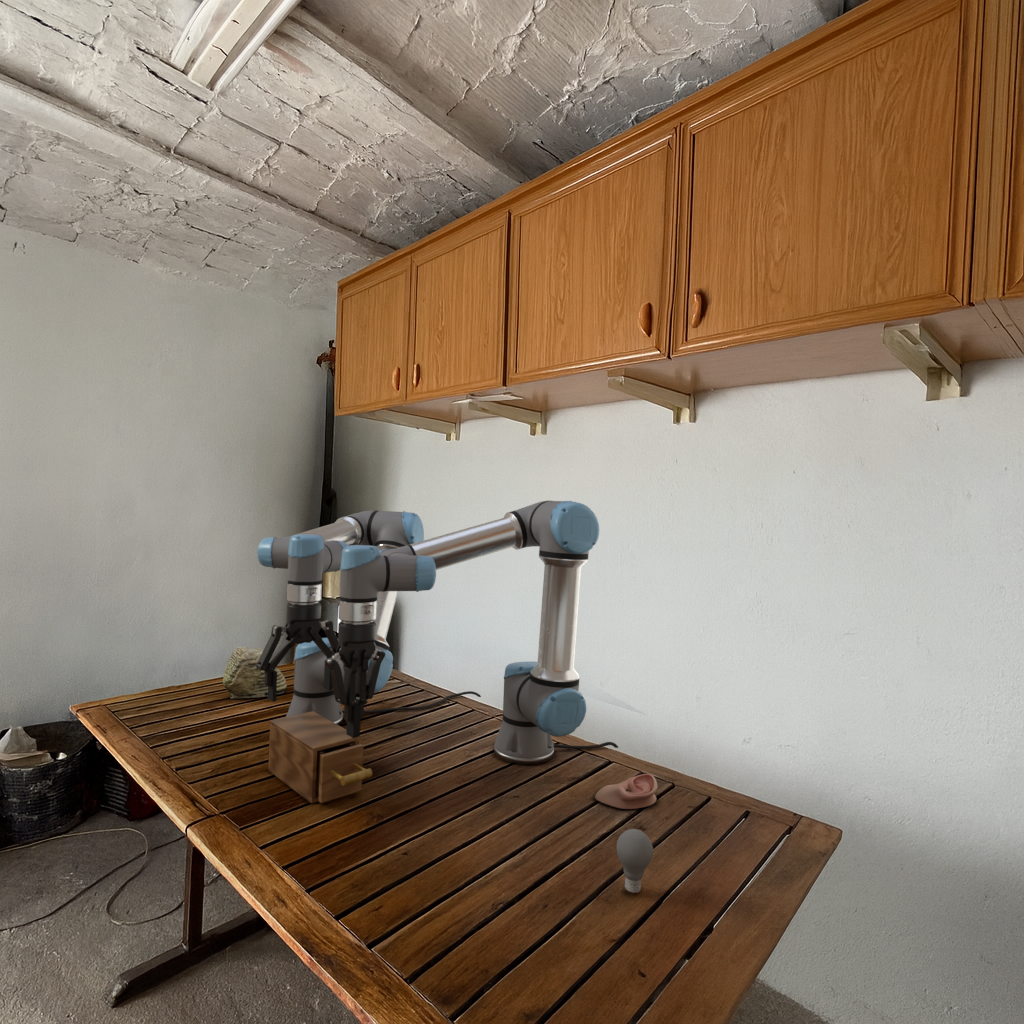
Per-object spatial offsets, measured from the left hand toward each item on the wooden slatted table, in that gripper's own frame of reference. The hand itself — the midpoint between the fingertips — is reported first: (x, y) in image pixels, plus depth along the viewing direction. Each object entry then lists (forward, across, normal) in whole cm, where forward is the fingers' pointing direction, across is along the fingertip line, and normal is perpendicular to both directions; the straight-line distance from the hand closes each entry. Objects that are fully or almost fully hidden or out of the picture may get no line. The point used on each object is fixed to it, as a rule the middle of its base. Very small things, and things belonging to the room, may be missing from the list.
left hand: (300, 694), depth 145 cm
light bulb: (+18, +22, -77) cm, 82 cm away
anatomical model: (+18, +48, -57) cm, 77 cm away
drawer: (+17, 0, -13) cm, 21 cm away
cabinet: (+18, 0, -6) cm, 19 cm away
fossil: (+18, +14, +59) cm, 64 cm away
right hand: (+3, +1, -22) cm, 22 cm away
